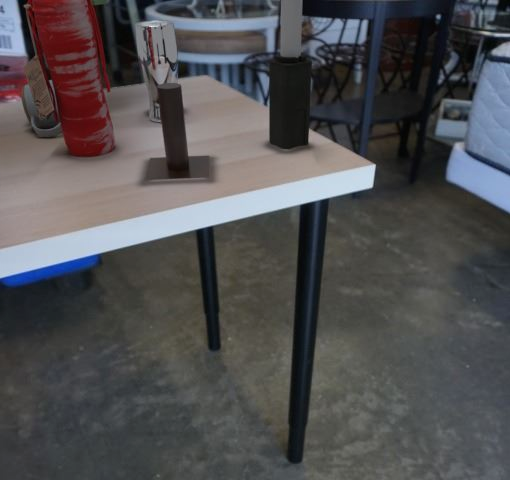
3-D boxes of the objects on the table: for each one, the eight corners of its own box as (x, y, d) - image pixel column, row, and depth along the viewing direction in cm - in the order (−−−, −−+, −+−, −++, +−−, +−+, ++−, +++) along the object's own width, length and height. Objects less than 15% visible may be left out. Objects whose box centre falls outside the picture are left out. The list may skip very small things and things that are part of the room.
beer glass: (168, 125, 97) (157, 27, 87) (139, 120, 100) (125, 25, 90) (191, 115, 102) (182, 21, 92) (163, 111, 104) (151, 19, 94)
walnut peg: (145, 190, 74) (130, 95, 66) (151, 167, 81) (138, 79, 73) (210, 188, 75) (202, 92, 67) (210, 165, 81) (203, 76, 73)
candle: (284, 159, 82) (288, -48, 66) (266, 151, 86) (265, -49, 69) (311, 153, 84) (320, -50, 68) (291, 144, 88) (296, -51, 71)
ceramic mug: (36, 121, 100) (23, 76, 95) (80, 119, 101) (70, 73, 96) (26, 140, 93) (11, 91, 87) (73, 137, 93) (62, 88, 88)
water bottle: (41, 171, 81) (-19, -39, 64) (49, 153, 87) (-4, -43, 70) (121, 165, 82) (83, -42, 65) (123, 148, 88) (89, -46, 71)
